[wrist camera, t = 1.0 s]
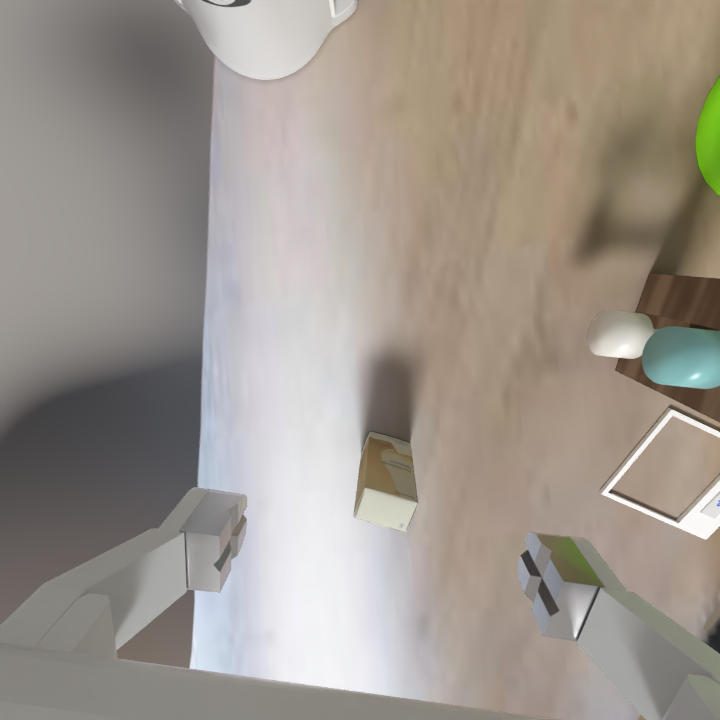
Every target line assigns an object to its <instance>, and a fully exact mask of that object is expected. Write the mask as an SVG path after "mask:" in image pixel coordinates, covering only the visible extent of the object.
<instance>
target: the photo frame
mask: <svg viewBox="0 0 720 720" xmlns="http://www.w3.org/2000/svg"><path fill="white" fill-rule="evenodd" d="M672 416H675V417H677V418H679V419H681V420H683V421H685V422H687V423H690V424H692V425H694V426H696V427H698V428H700V429H702V430H704V431H707V432H709V433H711V434H713V435H715V436H717V437H719V438H720V432H719V431H717V430H715V429H713V428H710V427H708V426H706V425H704V424H702V423H700V422H698V421H696V420H693V419H691V418H689V417H687V416H685V415H683V414H681V413H679V412H677V411H674V410H672V409H670V408H668V409H667V410H666V411H665V412H664V413H663V415H662V416H661V417H660V418H659V419H658V421H657V422H656V423H655V424H654V426H653V427H652V428H651V429H650V430H649V432H648V433H647V434H646V435H645V436H644V438H643V439H642V440H641V441H640V442H639V444H638V445H637V446H636V447H635V448H634V450H633V451H632V452H631V453H630V455H629V456H628V457H627V458H626V459H625V461H624V462H623V463H622V464H621V465H620V467H619V468H618V469H617V470H616V471H615V473H614V474H613V475H612V476H611V477H610V479H609V480H608V481H607V482H606V483H605V485H604V486H603V487H602V488H601V490H600V491H599V492H600V493H601V494H602V495H604V496H606V497H609V498H611V499H613V500H616V501H618V502H620V503H623V504H625V505H627V506H629V507H632V508H634V509H636V510H639V511H641V512H643V513H645V514H648V515H650V516H652V517H655V518H657V519H659V520H662V521H664V522H666V523H668V524H671V525H673V526H675V527H678V528H680V529H682V530H684V531H687V532H689V533H691V534H694V535H696V536H698V537H700V538H703V539H705V540H706V539H707V538H708V537H709V536H710V535H711V534H712V533H713V532H714V531H715V530H716V529H717V528H718V527H719V526H720V475H719V476H718V477H717V478H716V479H715V480H714V481H713V482H712V483H711V484H710V485H709V486H708V487H707V488H706V489H705V490H704V491H703V492H702V493H701V495H700V496H699V497H698V498H697V499H696V500H695V501H694V502H693V503H692V504H691V505H690V506H689V507H688V508H687V509H686V510H685V511H684V512H683V513H682V515H681V516H680V517H679V518H678V519H677V520H676V521H675V520H673V519H671V518H668V517H666V516H664V515H661V514H659V513H657V512H655V511H652V510H650V509H648V508H645V507H643V506H641V505H639V504H636V503H634V502H632V501H629V500H627V499H625V498H623V497H620V496H618V495H616V494H614V493H612V494H610V493H608V492H609V491H610V490H611V488H612V487H613V486H614V485H615V484H616V482H617V481H618V480H619V479H620V478H621V476H622V475H623V474H624V473H625V472H626V470H627V469H628V468H629V467H630V466H631V465H632V463H633V462H634V461H635V460H636V459H637V457H638V456H639V455H640V454H641V453H642V451H643V450H644V449H645V448H646V447H647V445H648V444H649V443H650V442H651V441H652V439H653V438H654V437H655V436H656V435H657V433H658V432H659V431H660V430H661V429H662V428H663V426H664V425H665V424H666V423H667V422H668V420H669V419H670V418H671V417H672Z"/></svg>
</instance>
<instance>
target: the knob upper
mask: <svg viewBox="0 0 720 720" xmlns="http://www.w3.org/2000/svg"><path fill="white" fill-rule="evenodd" d="M642 366H643V369H644V372H645V374H646V375H647V377H648V378H649V379H650V380H652V381H653V382H655V383H658V384H662V385H671V386H680V387H690V388H699V389H711V388H715V387H718V386H720V332H719V331H713V330H704V329H695V328H685V327H676V326H668V327H664V328H661V329H659V330H658V331H656V332H655V333H654V334H653V335H651V337H650V338H649V339H648V341H647V342H646V344H645V346H644V349H643V353H642Z"/></svg>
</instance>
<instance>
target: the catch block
mask: <svg viewBox="0 0 720 720" xmlns="http://www.w3.org/2000/svg"><path fill="white" fill-rule="evenodd" d="M636 313H642V314H645V315H647V316H648V317H649V318H650V320H651V322H652V324H653V329H661V328H664V327H668V326H676V327H685V328H695V329H704V330H713V331H720V279H717V278H704V277H691V276H678V275H665V274H653V273H649V276H648V279H647V282H646V285H645V288H644V290H643V293H642V296H641V299H640V302H639V305H638V307H637V310H636ZM615 371H617V372H619V373H621V374H623V375H625V376H627V377H629V378H631V379H633V380H635V381H637V382H639V383H641V384H643V385H645V386H647V387H649V388H651V389H653V390H655V391H658V392H660V393H662V394H664V395H666V396H668V397H670V398H672V399H674V400H676V401H678V402H680V403H682V404H684V405H686V406H688V407H690V408H692V409H694V410H696V411H698V412H700V413H702V414H704V415H706V416H708V417H710V418H712V419H714V420H716V421H718V422H720V386H718V387H715V388H711V389H699V388H690V387H680V386H671V385H662V384H658V383H655V382H653V381H652V380H650V379H649V378H648V377H647V375H646V374H645V372H644V369H643V366H642V355H641V356H640V357H638V358H635V359H627V358H620V359H619V361H618V364H617V367H616V370H615Z"/></svg>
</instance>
